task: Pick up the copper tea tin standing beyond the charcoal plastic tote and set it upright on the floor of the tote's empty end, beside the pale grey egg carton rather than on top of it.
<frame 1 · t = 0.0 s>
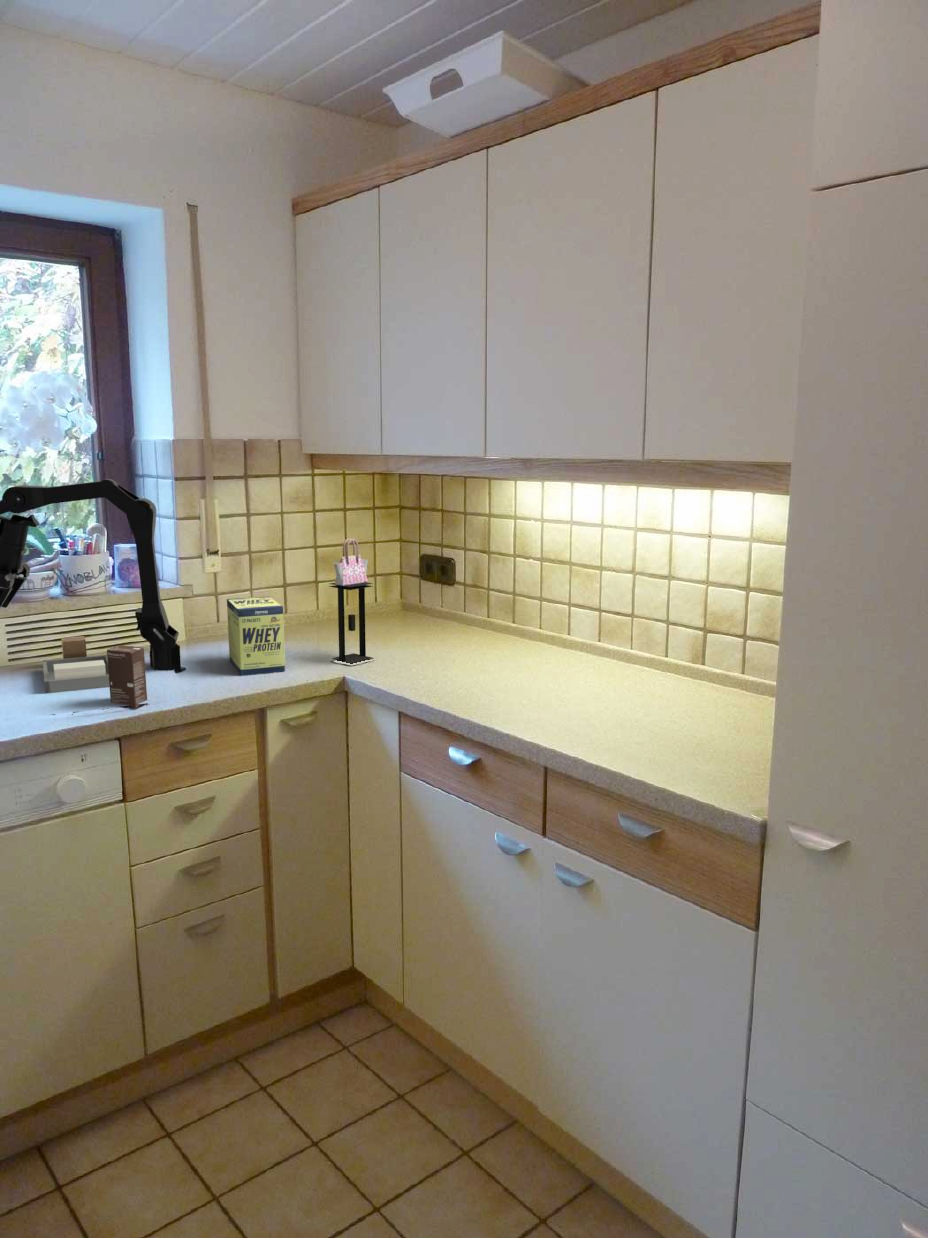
box: (129, 707, 187), on the counter
tea tin: (75, 667, 217), on the counter
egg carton: (80, 685, 198), point 1 cm above the counter, touching tote
tote: (79, 682, 204), on the counter
protein box: (256, 667, 220), on the counter
handbag: (352, 662, 225), on the counter
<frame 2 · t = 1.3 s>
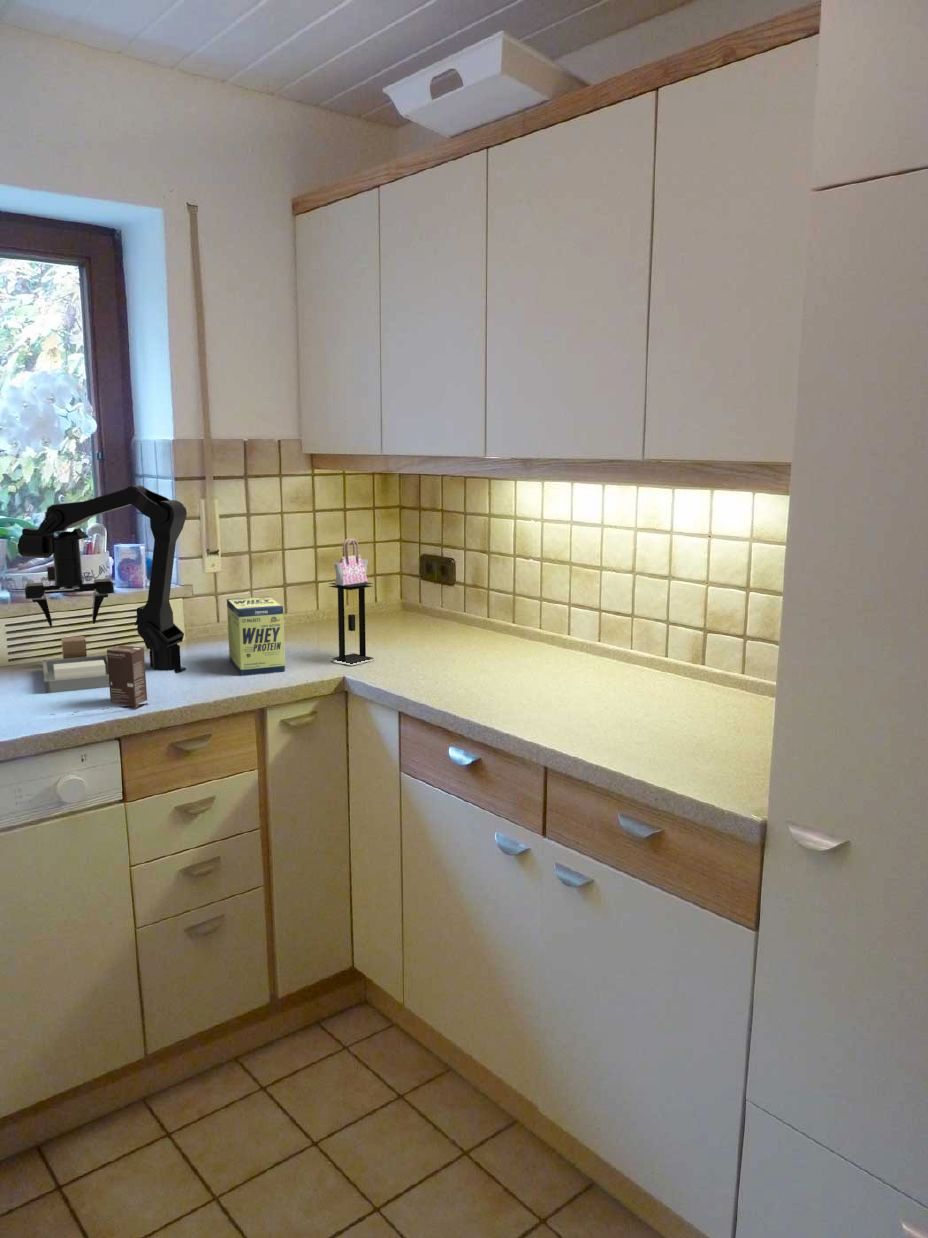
hand: (72, 625, 215), 10 cm above the counter, tool pointing down, fingers open, 9 cm apart
nothing on the counter moved.
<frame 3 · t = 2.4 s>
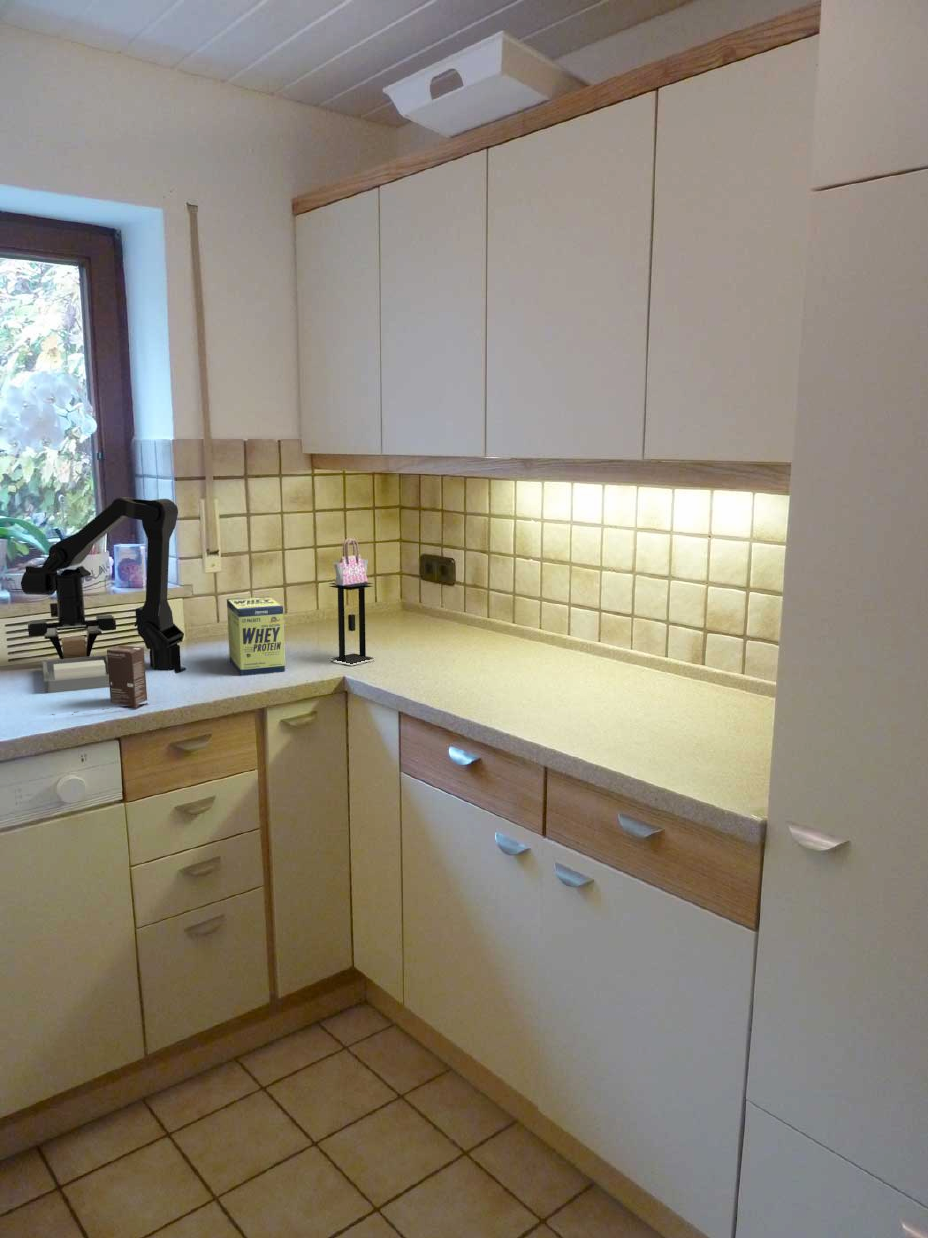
hand: (75, 661, 217), 2 cm above the counter, tool pointing down, fingers closed on tea tin, 5 cm apart
tea tin: (75, 667, 217), on the counter, touching gripper
everything else where it was.
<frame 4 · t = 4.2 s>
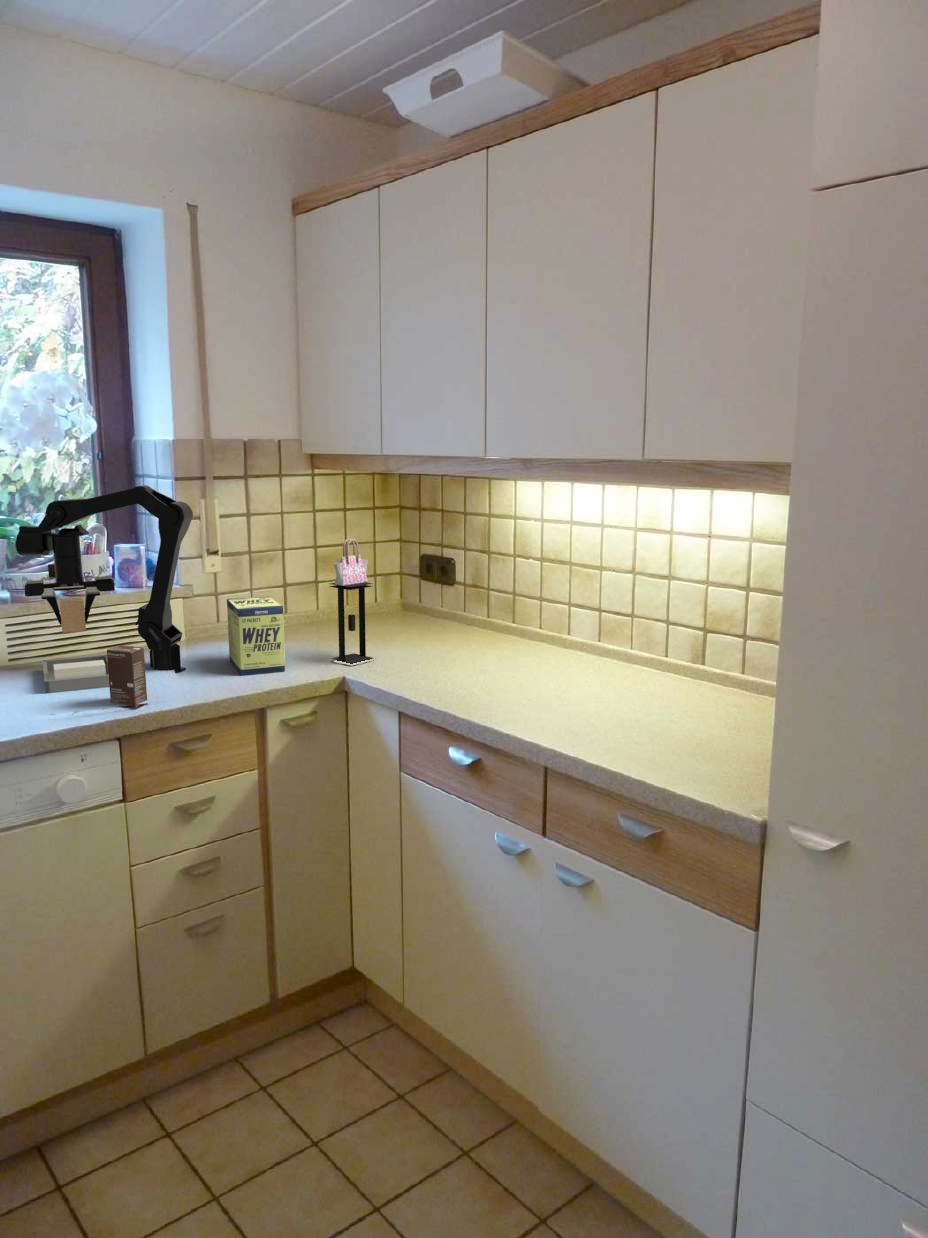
hand: (73, 623, 212), 11 cm above the counter, tool pointing down, fingers closed on tea tin, 5 cm apart
tea tin: (73, 629, 212), point 10 cm above the counter, touching gripper
everything else where it was.
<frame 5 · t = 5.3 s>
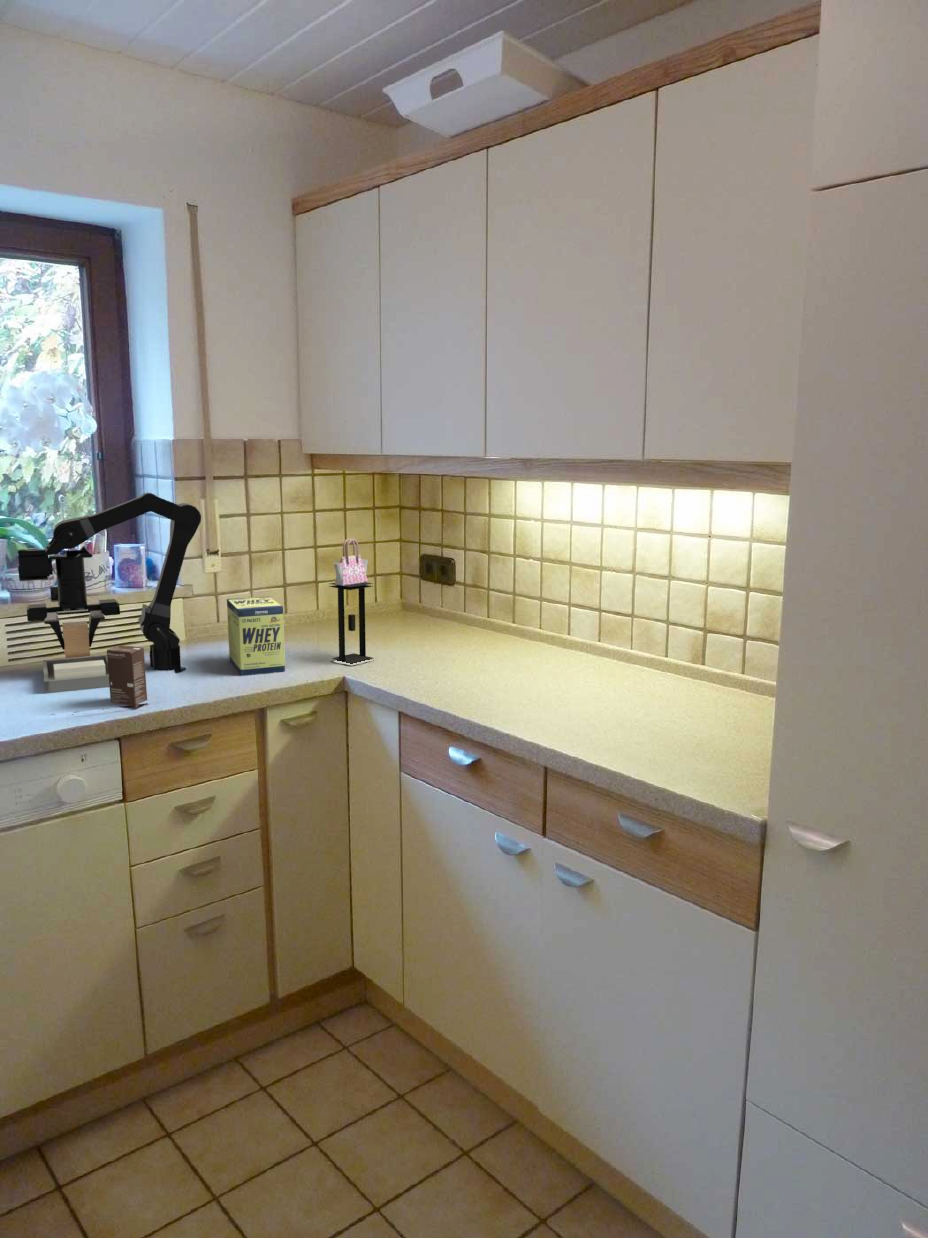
hand: (76, 648, 205), 7 cm above the counter, tool pointing down, fingers closed on tea tin, 5 cm apart
tea tin: (77, 654, 205), point 6 cm above the counter, touching gripper
everything else where it was.
when the fingers open (4 cm above the counter, at t = 6.2 s): tea tin drops 1 cm, resting on tote.
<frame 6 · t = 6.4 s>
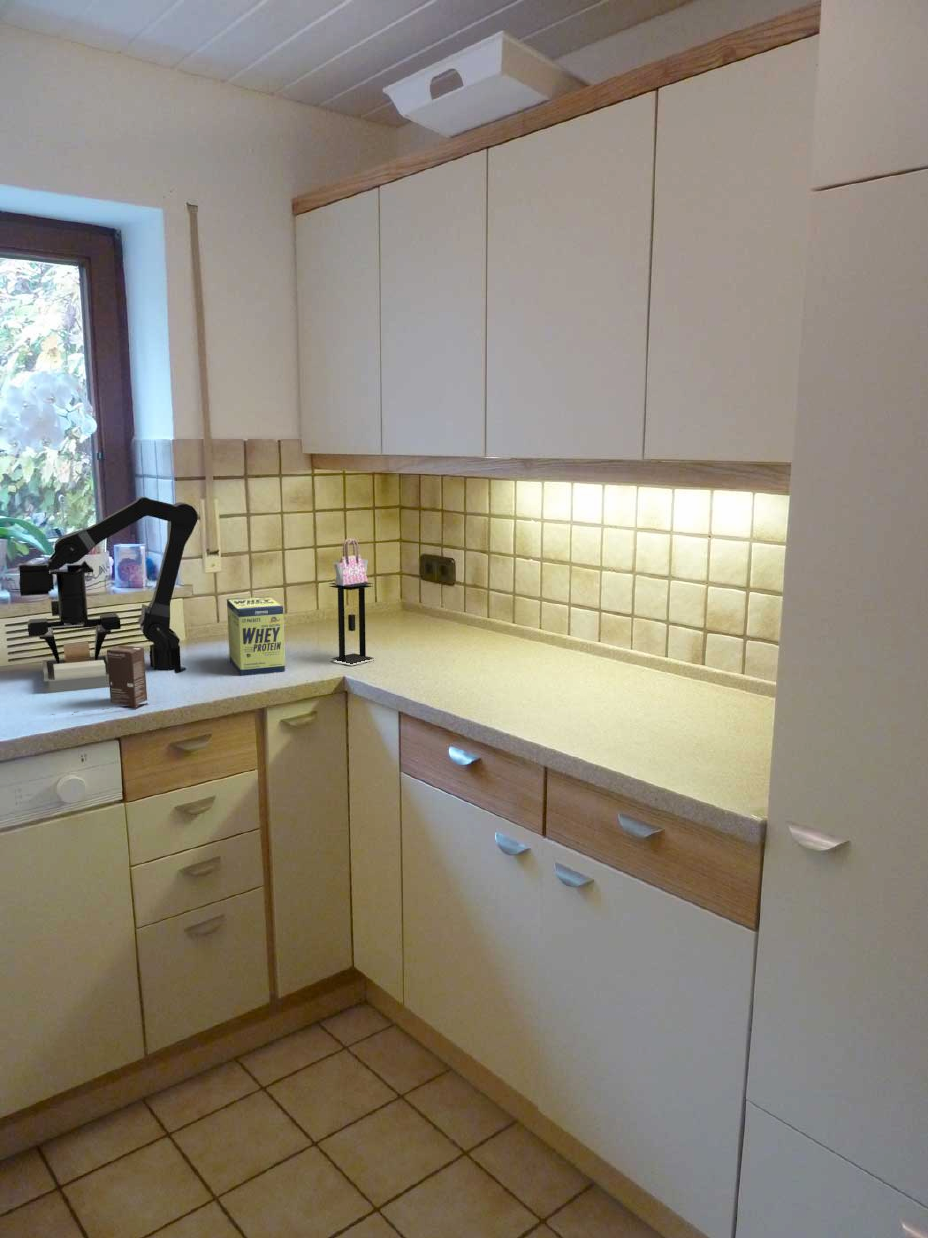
hand: (77, 662, 206), 4 cm above the counter, tool pointing down, fingers open, 7 cm apart
tea tin: (78, 675, 206), point 1 cm above the counter, touching tote
everything else where it was.
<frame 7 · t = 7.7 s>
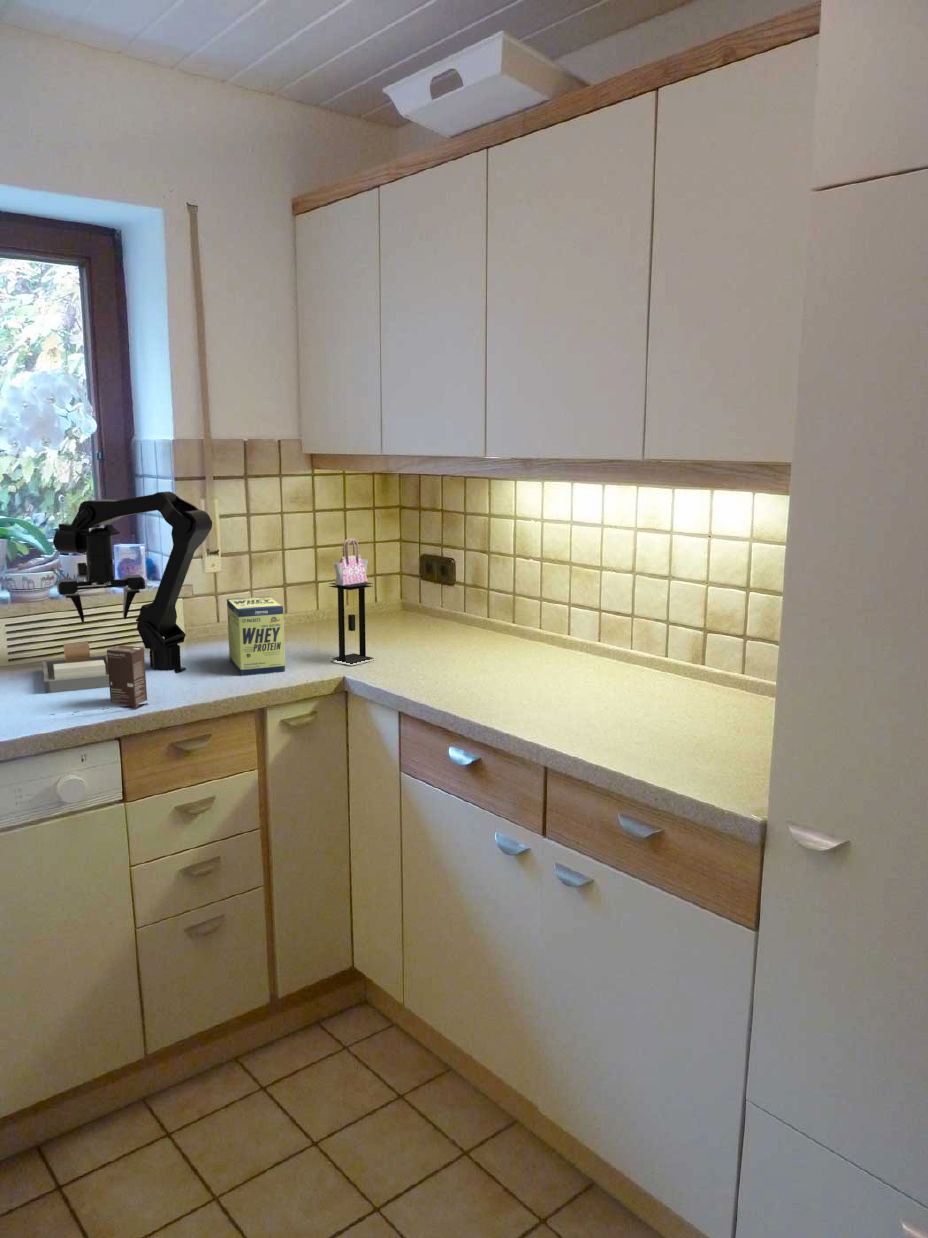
hand: (104, 620, 217), 11 cm above the counter, tool pointing down, fingers open, 9 cm apart
nothing on the counter moved.
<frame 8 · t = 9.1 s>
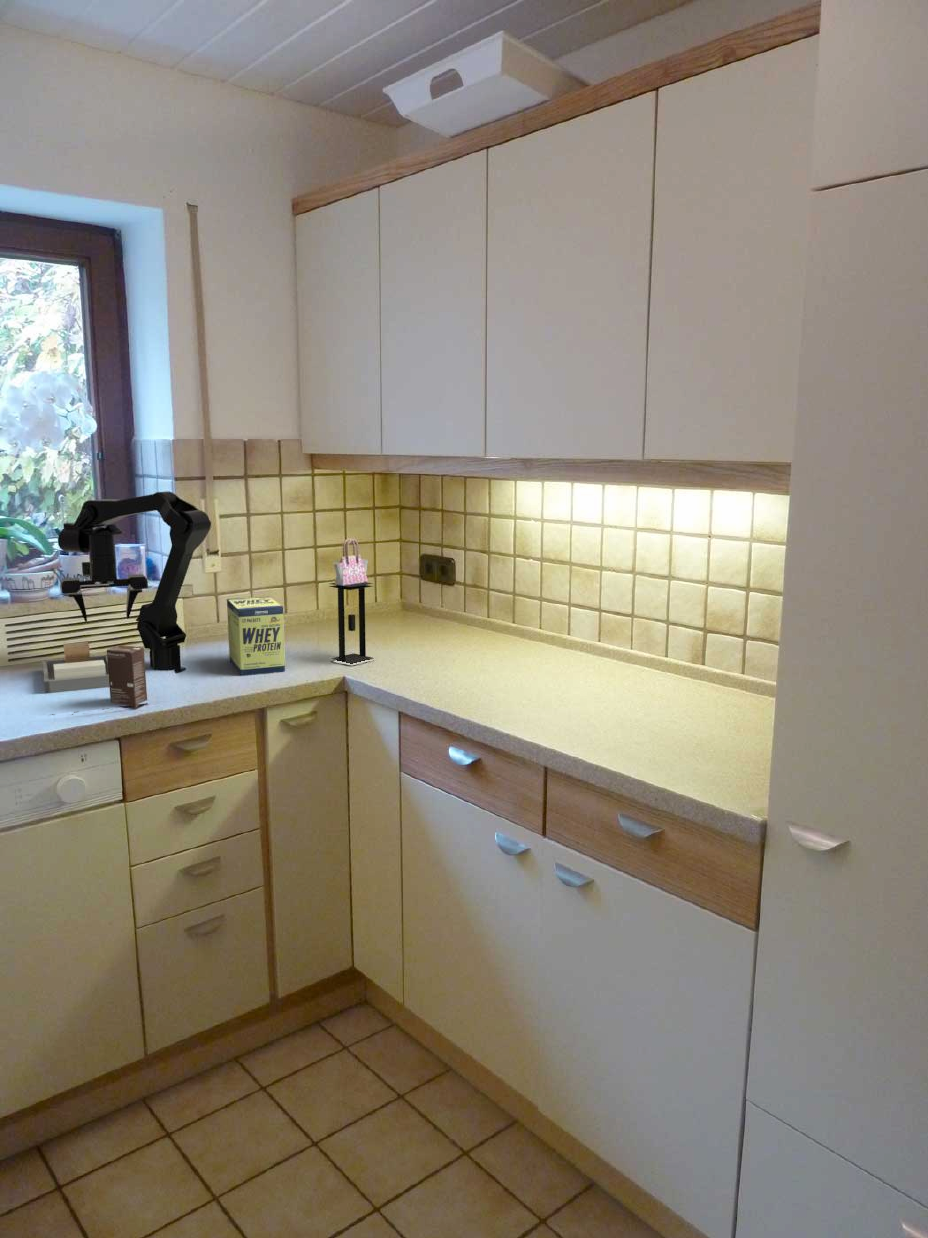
hand: (107, 619, 218), 11 cm above the counter, tool pointing down, fingers open, 9 cm apart
nothing on the counter moved.
at the end: tea tin 0.0 cm from the target spot on the tote, point 1.0 cm above the tote's base; tea tin tilted 0°; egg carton moved 0.0 cm from its start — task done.
